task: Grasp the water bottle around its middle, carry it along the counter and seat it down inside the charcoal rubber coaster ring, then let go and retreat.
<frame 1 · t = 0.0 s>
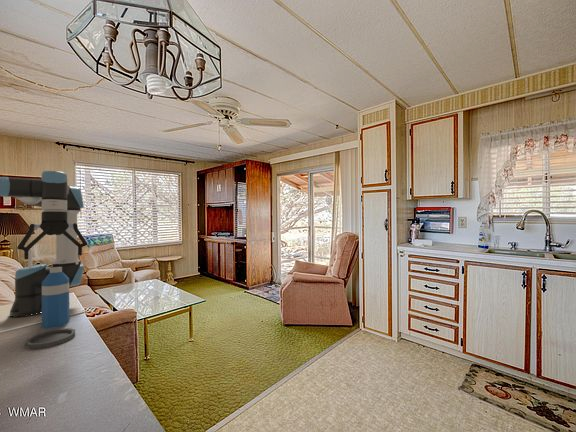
hand: (54, 265, 103), 28 cm above the counter, fingers open, 13 cm apart
water bottle: (55, 324, 117), on the counter
coaster ring: (51, 340, 101), on the counter
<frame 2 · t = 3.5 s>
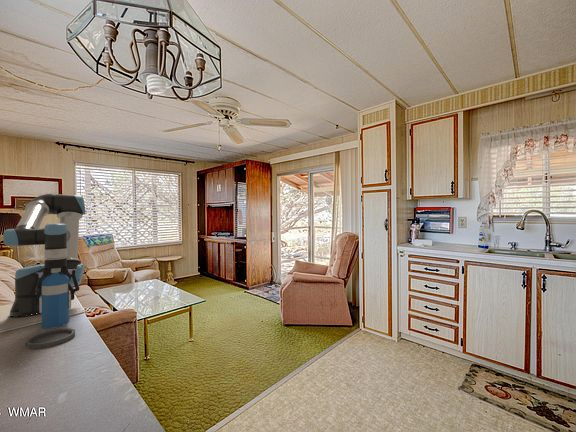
hand: (55, 309, 117), 6 cm above the counter, fingers closed on water bottle, 9 cm apart
water bottle: (55, 324, 117), on the counter, touching gripper
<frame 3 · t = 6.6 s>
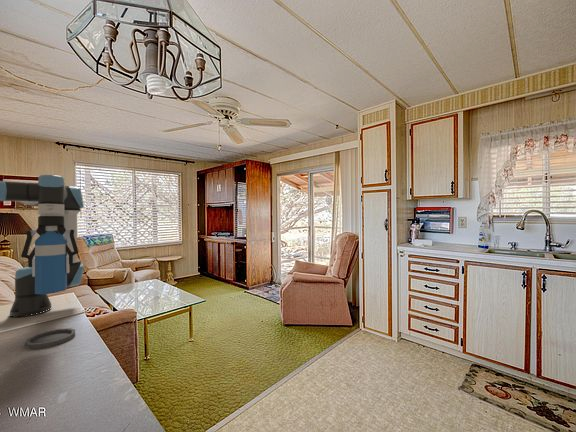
hand: (51, 274, 101), 25 cm above the counter, fingers closed on water bottle, 9 cm apart
water bottle: (51, 291, 101), point 18 cm above the counter, touching gripper
when the fingers open (8 cm above the counter, at t = 10.1 s): water bottle drops 1 cm, resting on coaster ring.
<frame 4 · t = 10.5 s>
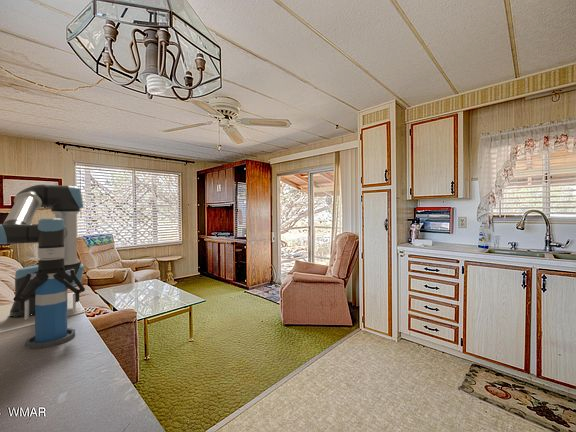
hand: (51, 314, 101), 10 cm above the counter, fingers open, 13 cm apart
water bottle: (51, 339, 101), resting on coaster ring
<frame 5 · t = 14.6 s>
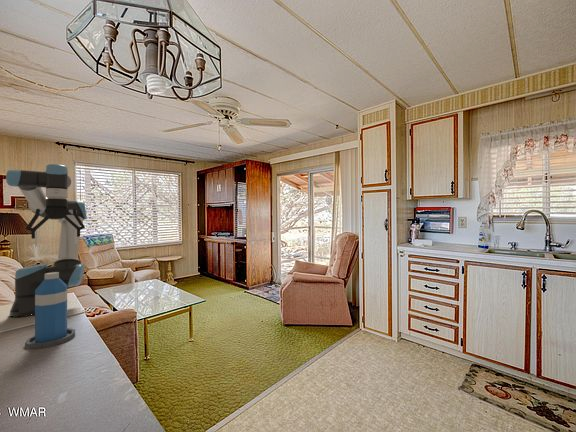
hand: (56, 245, 121), 35 cm above the counter, fingers open, 13 cm apart
nothing on the counter moved.
at the end: water bottle 0.1 cm from the coaster ring (horizontally); water bottle tilted 0°; water bottle resting on coaster ring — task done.
